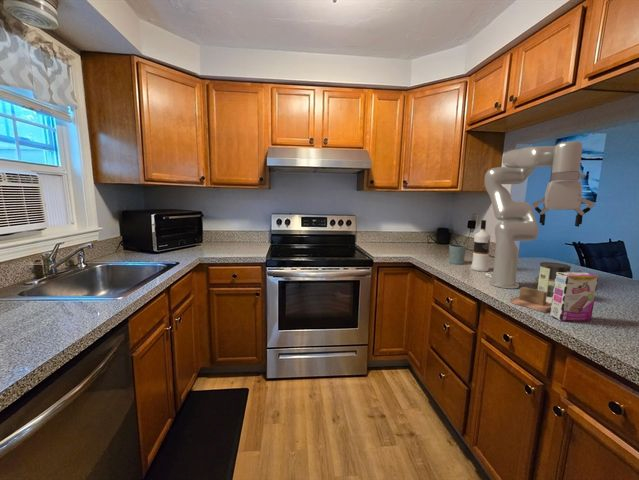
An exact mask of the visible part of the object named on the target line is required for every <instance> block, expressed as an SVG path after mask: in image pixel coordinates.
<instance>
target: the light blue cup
mask: <svg viewBox="0 0 639 480" xmlns="http://www.w3.org/2000/svg"><path fill="white" fill-rule="evenodd" d="M448 246H449V247H448V248H449V250H448V251H449V259H448V260H449V261H448V262H449V264H450V265H456V266H457V265H458V266H463V265H464V264H465V255H466V252H467V251H466V250H467V245H464V244H456V243H453V244H449V245H448Z"/></svg>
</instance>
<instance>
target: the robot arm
mask: <svg viewBox="0 0 639 480" xmlns="http://www.w3.org/2000/svg"><path fill="white" fill-rule="evenodd" d="M582 154H583V142H581V141H576V140H572V141H571V140H570V141H565V142H559V143H557V144H556V145H554V146H553V145H540V146H539V145H538V146H537V145H536V146H527V147H522V148H517V149H511V150H509V151H507V152H506V153H505V154H504V155H503V156H502V158H501V160H502V161H501V162H502V164H503V166H499V167H498V166H497V167H492V168H490V169H488V170H487V171H486V172H485V174H484V187H485V190H486V192H487V194H488V195H489V196H488V197H490V201H491V207H492V210H493V214H494V217H495V219H496V220H497V221H499V222H498V223H497V224H496V225H495V227H494V236H495V238H494V239H495V249H494V250H495V251H494V262H493V272H492V273H488V272H486V273H485V278H488V279H489V281H488V284H490V285H491V286H493V287H497V288H501V289H502V288H503V289H512V290H513V289H514V290H515V289H518V288H519V289H520V284H519V283H517V282H516V281H517V274H518V272H517V271H518V263H519V255H520V254H519V247H518V245H517V244H516V243H515V242H531V241H534V240H536V239H537V238H538V237H539V226H538V223H539V224H541V225H540V226H545V224H546V212H547V211H549V210H551V211H552V210H558V211H559V210H562V211H565V210H566V211H573V210H574V211H575V212H576V215H575V221H574V226H575V227H580V225H582V223H583V216H584V215H585V214H586V213H589V212H591V209H592V208H593V207H594V206H595V205H596V203H595V202H594V201H591V200H589V199H586V198H584V197H582V196H583V195H582V193H583V189H582V186H583V185H582V181H580V180H581V179H585V177H586V174H585V173H581V161H582ZM537 167H538V168H540V167H544V168H545V167H549V168H550V167H552V169H551V179H550V182H549V181H548V183H547V185H546V189H545V193H544V197H543V198H540V199H539V200H536V201H534V202H532V203H531V204H530V203H528V202H526V201H515V200H513V199H512V195H511V193H510V192H509V190H508V189H507V188H506V187H504V186H503V185H520V184H521V185H522V183H524V182H525V181H526V180H527V179H528V178H529V177H530V176H531V174H532V173H533V171H534V170H535V169H537ZM541 203H543V209H541V208H540V207H539V204H541ZM582 203H583V204H586V205H587V206H586V207H585V208H583V209H581V207H582ZM534 210H535V211H536V212H537V213H538V214H539V222H538V223H537V219H536V216H535V211H534Z"/></svg>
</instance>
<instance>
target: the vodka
mask: <svg viewBox="0 0 639 480" xmlns="http://www.w3.org/2000/svg"><path fill="white" fill-rule="evenodd" d="M486 226H487V219H482V220H481V221H480V231H478V232H477V233H475V234H474V236H473V237H474V239H473V241H474V242H473V252H472V261H471V265H470V268H471V270H472V271H474V272H482V273H485V272H486V273H487V272H489V269H490V267H489V256H490V254H489V253H490V245H491V238H492V237H491V234H489V233H488V232H487V231H486Z"/></svg>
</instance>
